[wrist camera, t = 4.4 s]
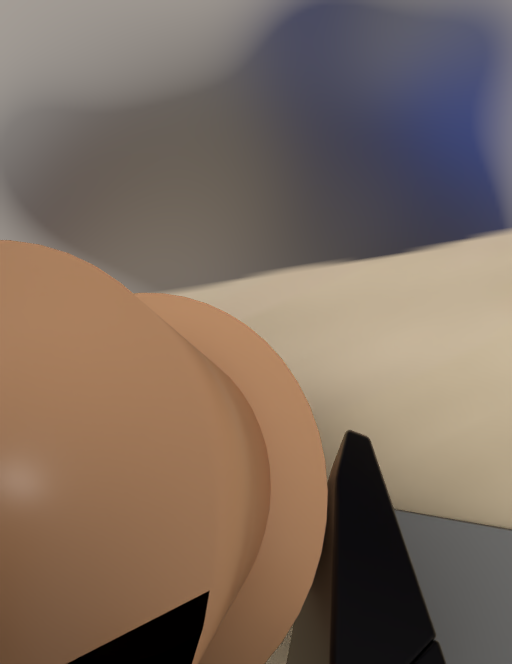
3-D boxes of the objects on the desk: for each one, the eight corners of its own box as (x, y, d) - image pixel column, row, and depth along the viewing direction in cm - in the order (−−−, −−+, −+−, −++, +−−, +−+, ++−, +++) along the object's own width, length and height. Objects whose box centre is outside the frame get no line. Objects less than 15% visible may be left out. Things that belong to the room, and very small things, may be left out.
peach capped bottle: (312, 549, 13) (265, 1420, 1) (175, 522, 14) (-620, 913, 2) (327, 404, 14) (374, 175, 2) (200, 387, 15) (-220, 153, 3)
